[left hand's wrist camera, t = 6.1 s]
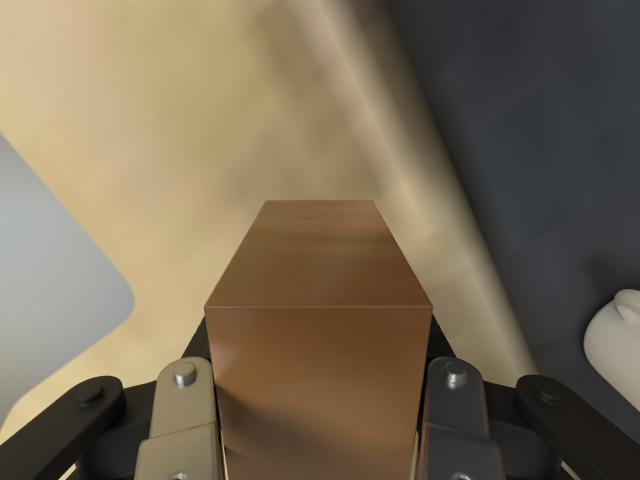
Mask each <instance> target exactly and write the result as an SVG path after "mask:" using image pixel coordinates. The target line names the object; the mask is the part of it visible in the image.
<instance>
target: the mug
mask: <svg viewBox="0 0 640 480" xmlns="http://www.w3.org/2000/svg"><path fill="white" fill-rule="evenodd" d="M584 351H585V354H586V357H587V359H588V360H589V362H590V363H591V365H592V366H593V367H594V368H595V369H596V370H597V371H598V373H599V374H600V375H601V376H602V377H603V378H604V379H606V380H607V381H608V382H609V383H610V384H611V385H612V386H613V387H614V388H615V389H616V390H617V391H618V392H619V393H620V394H621V395H623V396H624V397H625V398H626V399H627V400H628V401H629V402H630V403H631V404H632V405H633V406H634V407H635V408H636V409H637V410H638V411H640V290H639V291H637V290H632V289H625V290H621V291H619V292H618V293H617V294H616V295H615V298H614V300H613V301H611V302H609V303H608V304H607V305H605V306H604V307H603V308H602V309H600V311H599V312H598V313H597V314H596V315H595V316H594V317H593V318H592V320H591V322H590V323H589V325H588V327H587V329H586V332H585V336H584Z"/></svg>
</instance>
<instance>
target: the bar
mask: <svg viewBox="0 0 640 480" xmlns="http://www.w3.org/2000/svg"><path fill="white" fill-rule="evenodd" d="M432 310H433V306H432V304H431V302H430V300H429V299H428V297H427V295H426V293H425V292H424V290H423V288H422V286H421V285H420V283H419V281H418V279H417V278H416V276H415V274H414V272H413V271H412V269H411V267H410V265H409V264H408V262H407V260H406V258H405V257H404V255H403V253H402V251H401V249H400V248H399V246H398V244H397V242H396V241H395V239H394V237H393V235H392V234H391V232H390V230H389V228H388V227H387V225H386V223H385V221H384V220H383V218H382V216H381V214H380V213H379V211H378V209H377V207H376V206H375V204H374V202H373V201H372V200H267V201H266V202H265V203H264V205H263V207H262V208H261V210H260V212H259V213H258V215H257V217H256V219H255V220H254V222H253V224H252V225H251V227H250V229H249V231H248V232H247V234H246V236H245V237H244V239H243V241H242V242H241V244H240V246H239V248H238V249H237V251H236V253H235V254H234V256H233V258H232V259H231V261H230V263H229V265H228V266H227V268H226V270H225V271H224V273H223V275H222V277H221V278H220V280H219V282H218V283H217V285H216V287H215V288H214V290H213V292H212V294H211V295H210V297H209V299H208V300H207V302H206V304H205V305H204V312H205V319H206V326H207V332H208V339H209V346H210V353H211V360H212V367H213V374H214V381H215V388H216V395H217V402H218V409H219V416H220V423H221V430H222V437H223V444H224V451H225V458H226V465H227V472H228V479H229V480H410V472H411V465H412V458H413V450H414V443H415V435H416V428H417V421H418V413H419V406H420V398H421V391H422V384H423V376H424V369H425V362H426V354H427V347H428V339H429V332H430V325H431V317H432Z"/></svg>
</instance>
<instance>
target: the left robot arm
mask: <svg viewBox="0 0 640 480" xmlns="http://www.w3.org/2000/svg"><path fill="white" fill-rule="evenodd" d="M416 429H417V432H418V442H417V453H416V465H415V477H414V480H574V479H573V478H572V477H571V475H570V474H569V473H568V472H567V471H566V470H565V469H564V468H563V467H562V466H561V464H562V461H564V462H565V463H566V464H567V465H568V466H569V467H570V468H571V469H572V470H573V471H574V472H575V473H576V474H577V475H578V476H579V477H580V478H581V479H582V480H640V445H638V444H637V443H636V442H635V441H633V440H632V439H631V438H630V437H629V436H627V435H626V434H625V433H624V432H622V431H621V430H620V429H619V428H617V427H616V426H615V425H614V424H612V423H611V422H610V421H609V420H607V419H606V418H605V417H604V416H603V415H601V414H600V413H599V412H598V411H596V410H595V409H594V408H593V407H591V406H590V405H589V404H588V403H586V402H585V401H584V400H583V399H582V398H580V397H579V396H578V395H577V394H575V393H574V392H573V391H572V390H570V389H569V388H568V387H566V386H565V385H563V384H561V383H560V382H558V381H556V380H553V379H551V378H548V377H545V376H540V375H525V376H522V377H521V378H519V380H518V381H517V384H516V388H511V387H507V386H503V385H498V384H494V383H490V382H487V381H484V380H483V378H482V376H481V374H480V372H479V371H478V370H477V369H476V368H475V367H474V366H472V365H471V364H469V363H468V362H466V361H464V360H461V359H458V358H457V357H456V356H455V354H454V352H453V350H452V348H451V346H450V345H449V343H448V341H447V339H446V337H445V335H444V334H443V332H442V330H441V328H440V326H439V325H438V324H437V321H436V319H435V317H434V315H433V314H432V317H431V325H430V332H429V339H428V347H427V354H426V362H425V369H424V376H423V384H422V391H421V398H420V406H419V413H418V421H417V428H416ZM74 463H75V465H76V469H75V470H74V471H73V472H72V473H71V474H70V475H69V477H68V478H67V479H66V480H226V477H225V465H224V454H223V442H222V434H221V423H220V416H219V409H218V402H217V395H216V388H215V381H214V374H213V367H212V360H211V353H210V346H209V339H208V332H207V326H206V319H205V316H204V318H203V319H202V321H201V324H200V325H199V327H198V328H197V330H196V333H195V334H194V336H193V337H192V339H191V341H190V343H189V345H188V346H187V348H186V350H185V352H184V354H183V355H182V357H181V359H179V360H176V361H174V362H172V363H171V364H169V365H168V366H166V367H165V368H164V369H163V370H162V371H161V372H160V374H159V376H158V378H157V380H155V381H152V382H149V383H146V384H141V385H137V386H133V387H129V388H124V389H123V386H122V383H121V381H120V380H119V379H118V378H116V377H113V376H99V377H94V378H91V379H88V380H86V381H83V382H81V383H79V384H77V385H76V386H74V387H72V388H71V389H70V390H68V391H67V392H66V393H65V394H63V395H62V396H61V397H60V398H58V399H57V400H56V401H55V402H54V403H52V404H51V405H50V406H49V407H47V408H46V409H45V410H44V411H42V412H41V413H40V414H39V415H37V416H36V417H35V418H34V419H33V420H31V421H30V422H29V423H28V424H26V425H25V426H24V427H23V428H21V429H20V430H19V431H18V432H16V433H15V434H14V435H13V436H11V437H10V438H9V439H8V440H7V441H5V442H4V443H3V444H2V445H0V480H58V479H59V478H60V477H61V476H62V475H63V474H64V473H65V472H66V471H67V470H68V469H69V468H70V467H71V466H72V465H73V464H74Z"/></svg>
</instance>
